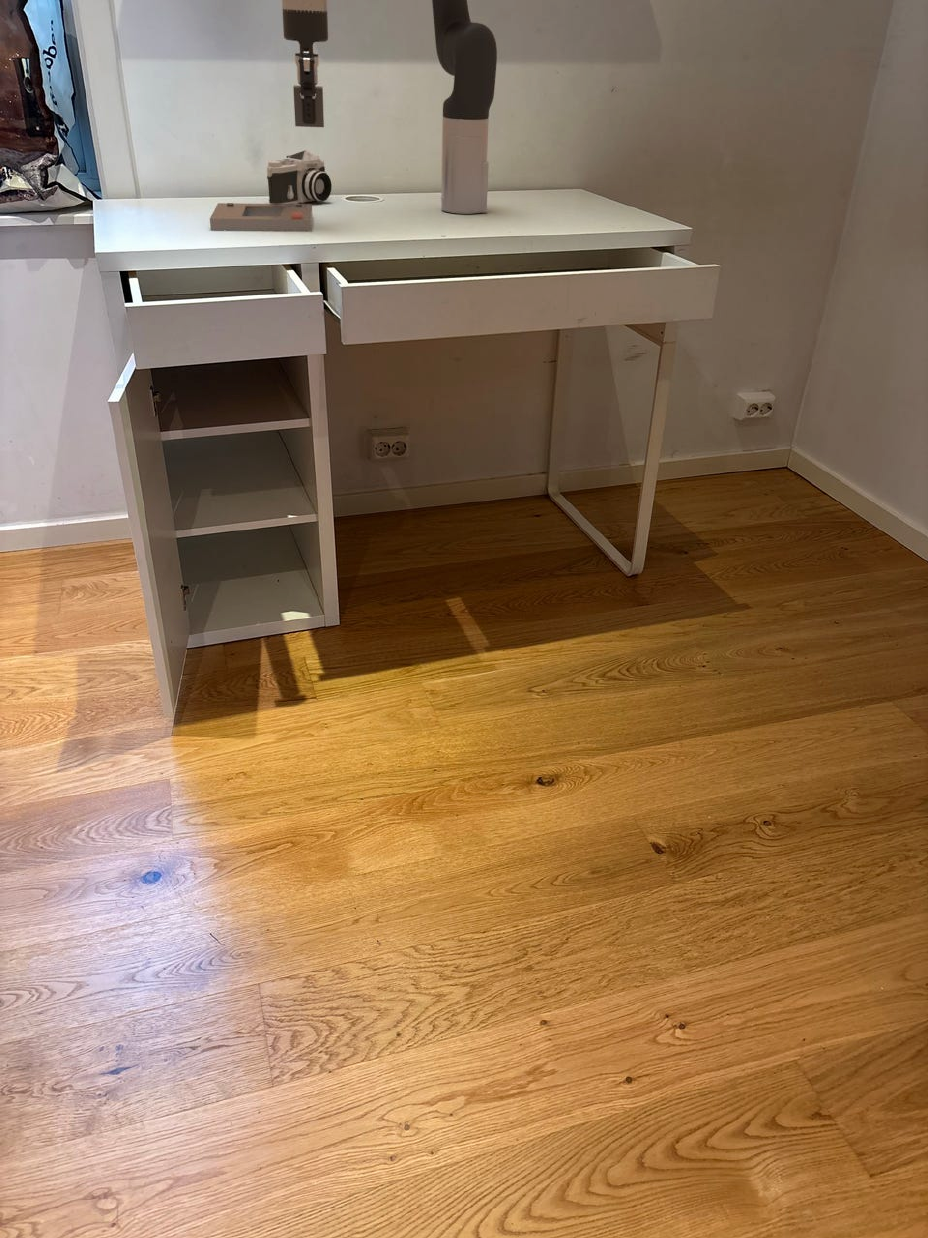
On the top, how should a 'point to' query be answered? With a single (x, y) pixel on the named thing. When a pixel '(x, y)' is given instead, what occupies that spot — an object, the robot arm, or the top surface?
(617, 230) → the top surface
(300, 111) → the plug
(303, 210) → the socket plate
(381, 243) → the top surface
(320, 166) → the camera
